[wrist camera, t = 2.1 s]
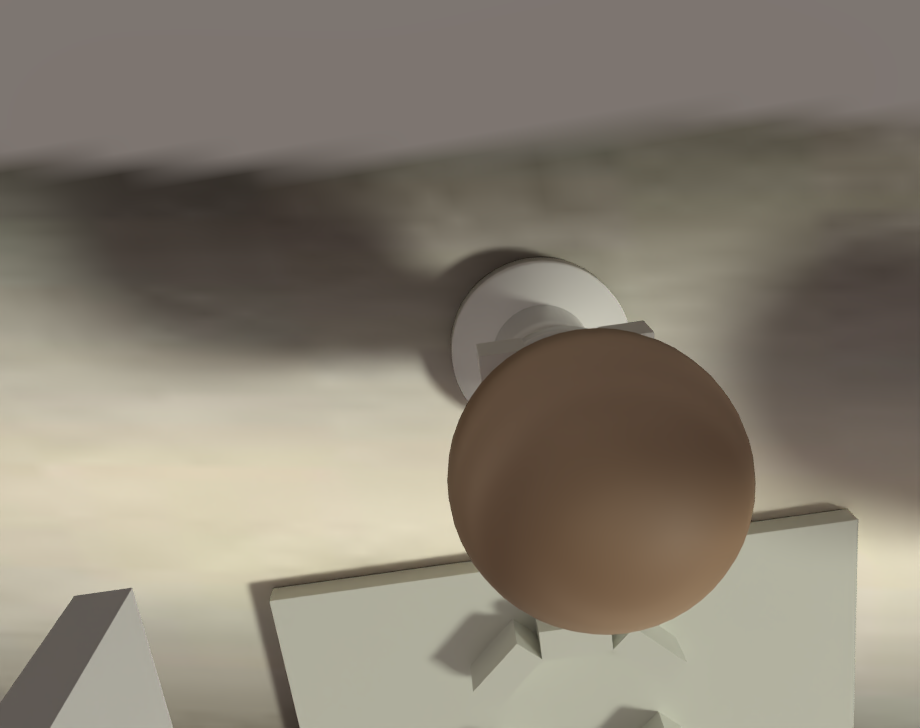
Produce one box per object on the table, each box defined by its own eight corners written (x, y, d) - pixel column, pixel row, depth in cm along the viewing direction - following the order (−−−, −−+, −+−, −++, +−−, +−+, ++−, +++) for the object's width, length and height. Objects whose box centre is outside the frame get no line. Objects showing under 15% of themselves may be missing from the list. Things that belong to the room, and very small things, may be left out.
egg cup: (439, 270, 21) (445, 332, 16) (618, 245, 21) (681, 299, 16) (463, 434, 22) (475, 540, 17) (629, 411, 22) (692, 510, 17)
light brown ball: (426, 316, 16) (428, 417, 11) (693, 278, 16) (810, 364, 11) (461, 549, 17) (476, 726, 13) (703, 516, 17) (810, 680, 12)
